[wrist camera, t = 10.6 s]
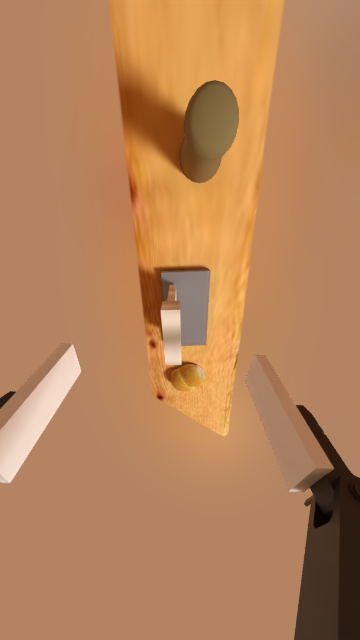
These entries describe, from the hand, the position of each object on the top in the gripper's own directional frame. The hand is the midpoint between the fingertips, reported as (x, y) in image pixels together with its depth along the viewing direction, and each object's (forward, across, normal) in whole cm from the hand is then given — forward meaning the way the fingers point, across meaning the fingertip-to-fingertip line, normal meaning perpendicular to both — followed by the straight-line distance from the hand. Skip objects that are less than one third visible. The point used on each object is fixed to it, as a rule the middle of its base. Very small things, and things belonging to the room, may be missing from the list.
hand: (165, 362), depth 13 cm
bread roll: (+23, +5, -27) cm, 36 cm away
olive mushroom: (+24, +3, +17) cm, 30 cm away
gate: (+21, 0, -7) cm, 23 cm away
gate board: (+23, +3, -8) cm, 25 cm away
